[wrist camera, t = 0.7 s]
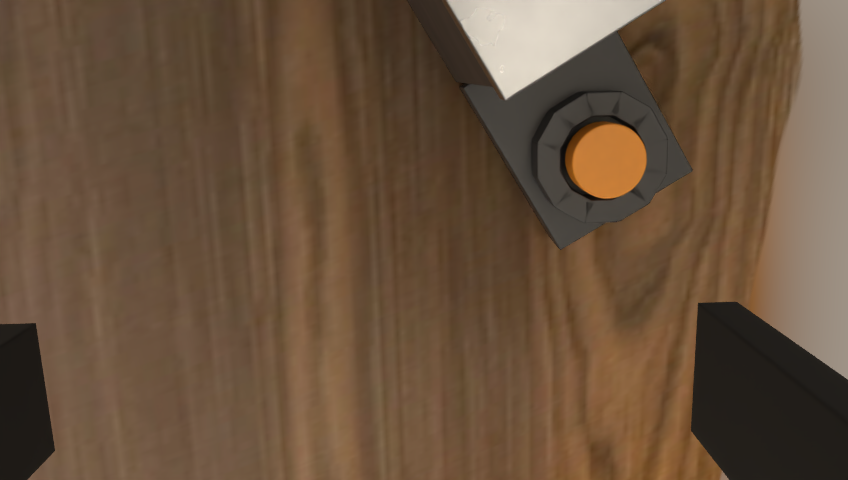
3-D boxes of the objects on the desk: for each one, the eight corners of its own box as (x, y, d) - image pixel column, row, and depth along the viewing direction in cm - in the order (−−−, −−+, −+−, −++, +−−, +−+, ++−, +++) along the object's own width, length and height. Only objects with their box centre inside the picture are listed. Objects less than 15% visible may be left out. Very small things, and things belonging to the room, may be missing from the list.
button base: (458, 86, 40) (465, 88, 35) (585, 6, 39) (610, -4, 35) (549, 237, 42) (567, 258, 37) (672, 163, 41) (706, 175, 36)
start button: (551, 146, 36) (558, 149, 35) (614, 107, 36) (624, 108, 34) (586, 206, 37) (595, 212, 35) (649, 168, 37) (660, 173, 35)
